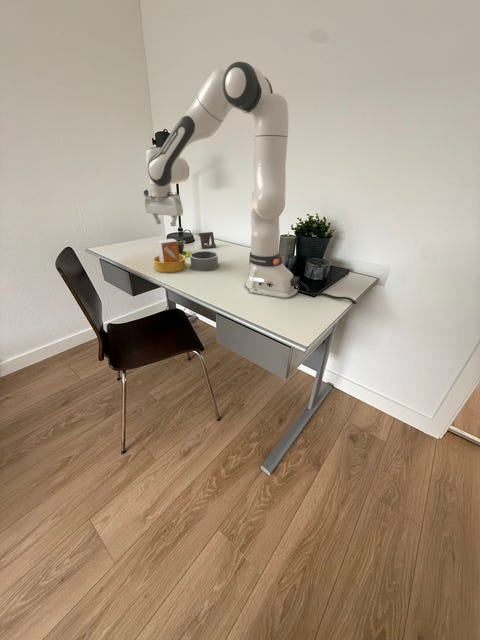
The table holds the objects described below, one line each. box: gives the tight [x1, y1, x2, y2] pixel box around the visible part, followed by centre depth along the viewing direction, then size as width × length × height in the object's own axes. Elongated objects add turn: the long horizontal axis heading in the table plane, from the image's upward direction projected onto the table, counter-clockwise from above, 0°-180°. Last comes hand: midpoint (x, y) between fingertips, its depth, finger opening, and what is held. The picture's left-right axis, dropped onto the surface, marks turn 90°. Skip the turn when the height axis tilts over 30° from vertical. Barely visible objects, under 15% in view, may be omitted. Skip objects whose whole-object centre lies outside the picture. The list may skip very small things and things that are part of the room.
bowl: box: [152, 255, 187, 274], centre depth 131 cm, size 15×15×5 cm
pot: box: [189, 250, 219, 272], centre depth 133 cm, size 14×14×6 cm
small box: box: [156, 238, 180, 263], centre depth 129 cm, size 8×6×13 cm
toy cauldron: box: [167, 234, 191, 258], centre depth 150 cm, size 15×15×11 cm
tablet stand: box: [198, 231, 217, 249], centre depth 166 cm, size 9×8×8 cm
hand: (165, 225), depth 122 cm, fingers open, 8 cm apart
